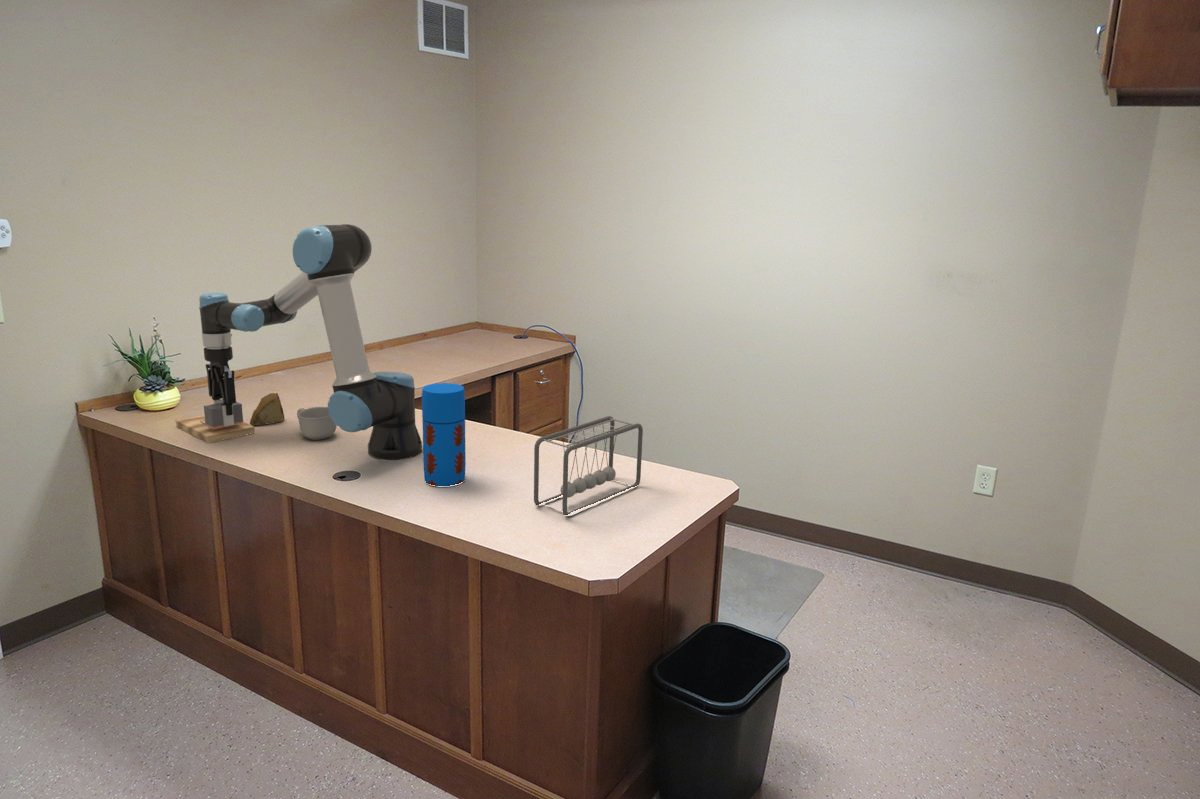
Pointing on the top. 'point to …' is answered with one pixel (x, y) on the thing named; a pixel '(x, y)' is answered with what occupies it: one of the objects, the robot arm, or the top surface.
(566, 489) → the newton's cradle
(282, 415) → the rock
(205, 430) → the board
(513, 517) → the top surface
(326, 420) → the teacup
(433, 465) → the thermos
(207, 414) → the block
